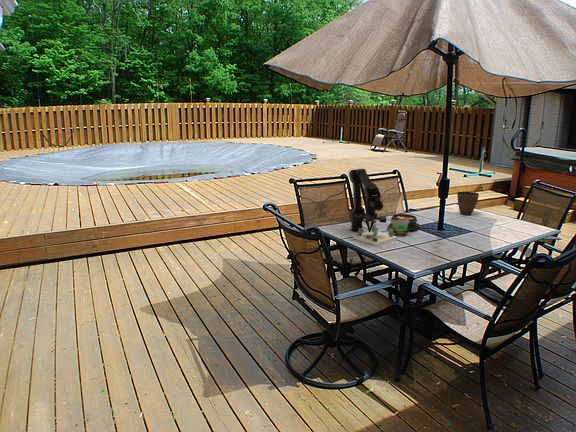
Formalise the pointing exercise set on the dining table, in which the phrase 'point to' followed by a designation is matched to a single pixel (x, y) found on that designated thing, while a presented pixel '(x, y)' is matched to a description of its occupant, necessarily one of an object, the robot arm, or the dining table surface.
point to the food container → (399, 227)
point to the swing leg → (373, 234)
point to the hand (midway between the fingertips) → (369, 232)
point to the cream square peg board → (377, 240)
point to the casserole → (412, 219)
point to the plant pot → (467, 202)
